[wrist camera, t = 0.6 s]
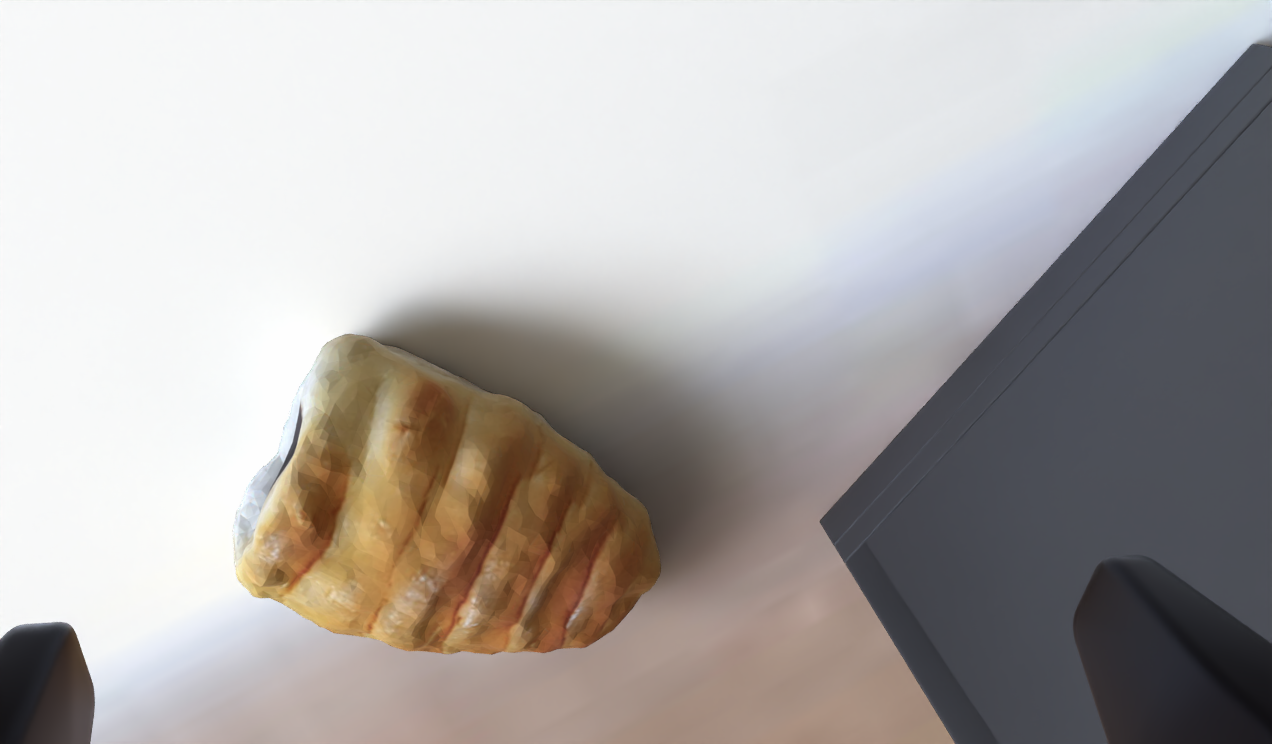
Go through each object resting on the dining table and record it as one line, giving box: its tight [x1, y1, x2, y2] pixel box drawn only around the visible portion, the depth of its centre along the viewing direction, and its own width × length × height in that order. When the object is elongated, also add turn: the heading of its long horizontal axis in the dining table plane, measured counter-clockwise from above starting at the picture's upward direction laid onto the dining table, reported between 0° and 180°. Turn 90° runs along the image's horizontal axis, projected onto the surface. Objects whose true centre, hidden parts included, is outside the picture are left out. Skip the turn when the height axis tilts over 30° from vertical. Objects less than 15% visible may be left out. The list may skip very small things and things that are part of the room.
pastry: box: [233, 334, 661, 654], centre depth 25 cm, size 9×7×4 cm
